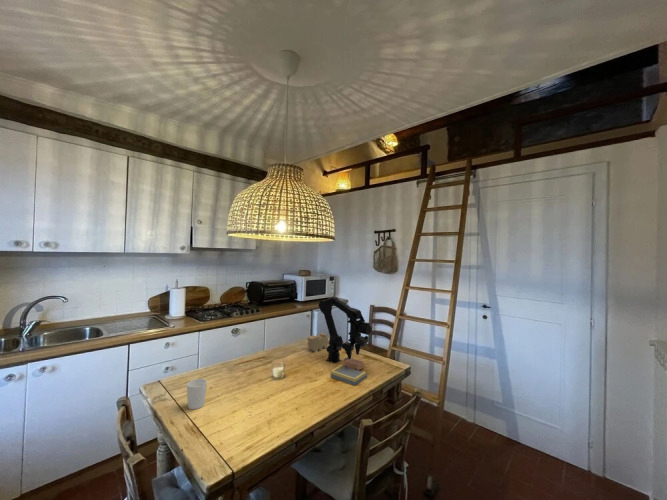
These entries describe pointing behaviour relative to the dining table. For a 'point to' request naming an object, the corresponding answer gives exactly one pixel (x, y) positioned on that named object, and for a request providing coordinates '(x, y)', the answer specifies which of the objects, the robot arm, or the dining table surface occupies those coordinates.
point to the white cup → (196, 393)
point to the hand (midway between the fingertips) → (353, 356)
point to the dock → (348, 375)
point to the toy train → (318, 342)
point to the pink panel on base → (353, 363)
